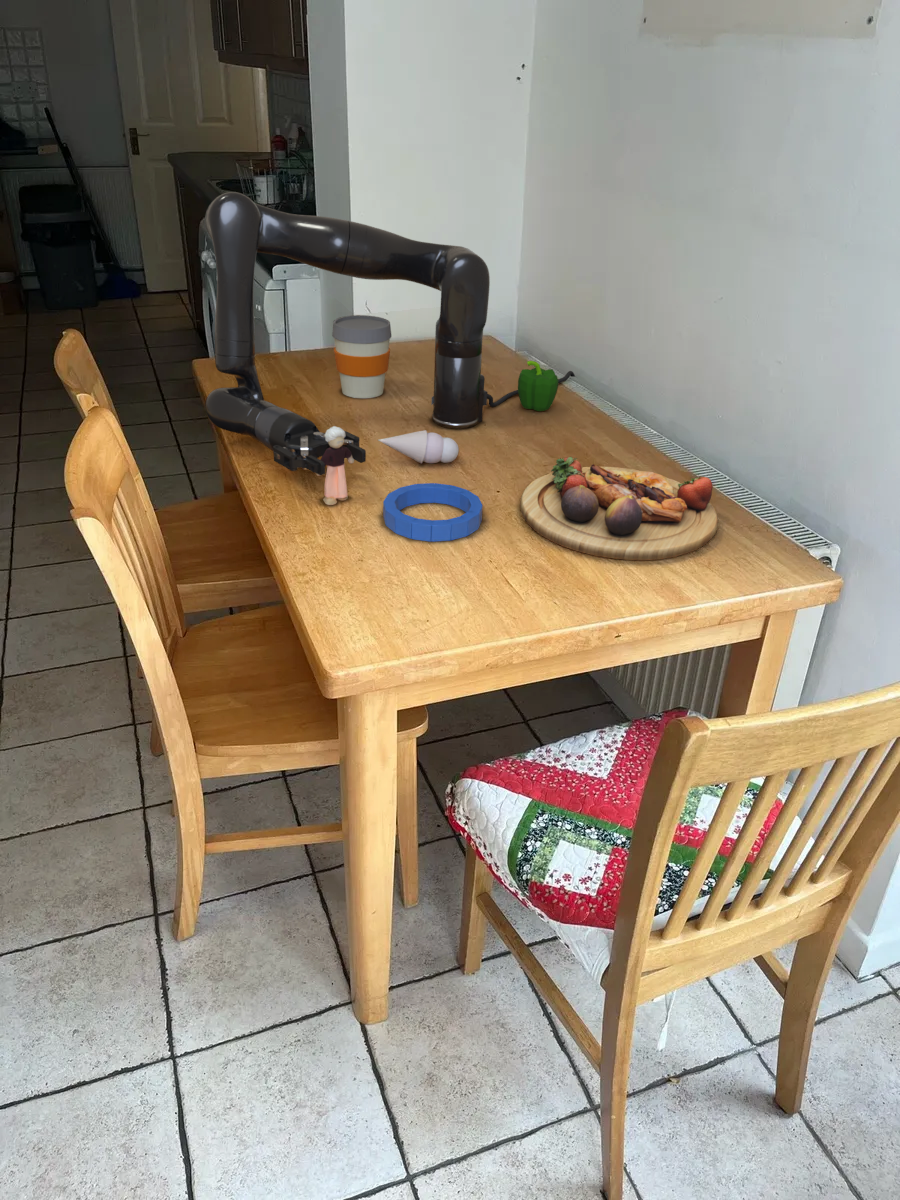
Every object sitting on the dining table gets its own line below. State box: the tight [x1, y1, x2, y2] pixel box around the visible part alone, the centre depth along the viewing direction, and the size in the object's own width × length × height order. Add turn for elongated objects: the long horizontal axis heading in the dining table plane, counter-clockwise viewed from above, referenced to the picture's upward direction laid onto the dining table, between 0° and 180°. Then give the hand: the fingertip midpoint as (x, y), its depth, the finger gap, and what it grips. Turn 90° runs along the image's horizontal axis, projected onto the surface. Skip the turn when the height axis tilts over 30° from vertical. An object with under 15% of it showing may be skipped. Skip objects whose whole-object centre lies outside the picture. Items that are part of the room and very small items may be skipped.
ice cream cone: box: [377, 429, 460, 464], centre depth 164 cm, size 6×6×15 cm
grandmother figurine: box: [315, 425, 355, 506], centre depth 148 cm, size 8×4×13 cm, turn 148°
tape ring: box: [382, 482, 484, 543], centre depth 145 cm, size 16×16×3 cm
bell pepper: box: [517, 360, 559, 412], centre depth 191 cm, size 8×8×10 cm
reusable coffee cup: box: [331, 314, 392, 399], centre depth 195 cm, size 13×13×15 cm
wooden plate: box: [519, 456, 719, 561], centre depth 147 cm, size 32×32×8 cm
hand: (344, 463), depth 146 cm, fingers closed on grandmother figurine, 7 cm apart
